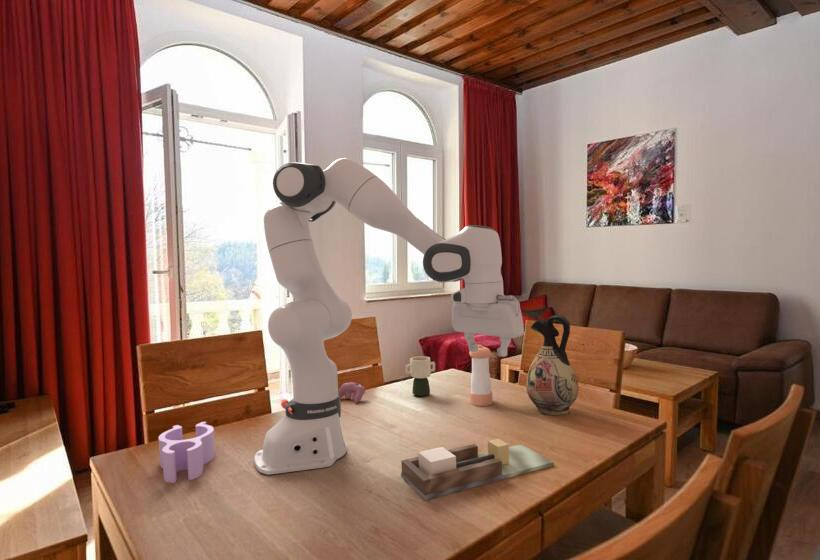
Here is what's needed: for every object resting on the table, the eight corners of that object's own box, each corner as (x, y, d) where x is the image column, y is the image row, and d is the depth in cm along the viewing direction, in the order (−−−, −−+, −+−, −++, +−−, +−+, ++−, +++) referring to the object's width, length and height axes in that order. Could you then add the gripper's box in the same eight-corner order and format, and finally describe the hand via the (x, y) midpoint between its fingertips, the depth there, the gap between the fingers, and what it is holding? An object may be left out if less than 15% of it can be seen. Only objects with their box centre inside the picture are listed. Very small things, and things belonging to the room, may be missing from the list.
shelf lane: (425, 500, 98) (425, 481, 98) (401, 476, 109) (400, 459, 109) (553, 465, 112) (553, 449, 112) (520, 447, 123) (520, 432, 122)
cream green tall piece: (432, 390, 176) (431, 355, 175) (439, 395, 169) (438, 358, 169) (403, 394, 173) (402, 357, 172) (409, 399, 166) (408, 361, 165)
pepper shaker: (475, 407, 156) (474, 347, 155) (466, 400, 163) (465, 343, 162) (496, 404, 158) (495, 345, 157) (486, 398, 165) (485, 342, 164)
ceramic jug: (516, 412, 150) (514, 315, 148) (542, 400, 161) (540, 309, 159) (568, 424, 138) (567, 318, 136) (592, 411, 149) (591, 313, 147)
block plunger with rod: (431, 485, 102) (430, 462, 102) (418, 474, 107) (418, 452, 107) (511, 464, 110) (511, 443, 110) (496, 455, 116) (495, 434, 116)
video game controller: (363, 405, 166) (368, 385, 169) (355, 403, 163) (361, 382, 165) (341, 401, 171) (346, 382, 174) (333, 399, 168) (338, 379, 170)
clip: (211, 477, 112) (210, 447, 111) (151, 487, 108) (149, 456, 107) (216, 445, 131) (215, 420, 130) (165, 453, 127) (163, 426, 126)
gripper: (528, 294, 107) (531, 356, 108) (465, 292, 124) (468, 346, 124) (508, 297, 104) (511, 361, 104) (446, 294, 120) (449, 350, 121)
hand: (487, 353), depth 114 cm, fingers open, 8 cm apart
